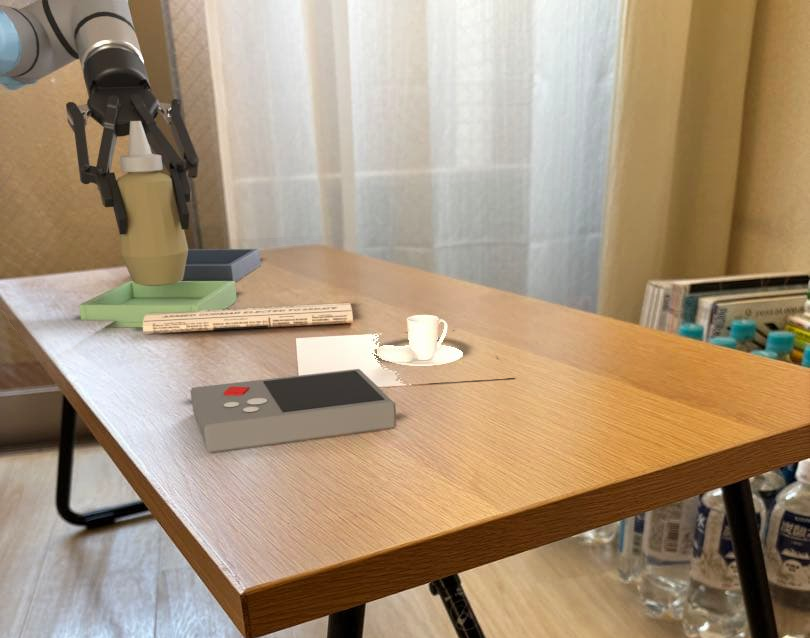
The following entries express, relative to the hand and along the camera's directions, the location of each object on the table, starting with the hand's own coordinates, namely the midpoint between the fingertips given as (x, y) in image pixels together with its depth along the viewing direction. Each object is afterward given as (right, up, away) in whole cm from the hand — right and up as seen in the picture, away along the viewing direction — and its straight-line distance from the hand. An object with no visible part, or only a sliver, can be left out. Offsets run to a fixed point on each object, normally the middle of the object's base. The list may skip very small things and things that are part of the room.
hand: (154, 224), depth 104 cm
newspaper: (+11, -12, +1) cm, 16 cm away
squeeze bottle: (-1, -5, +6) cm, 8 cm away
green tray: (-1, -8, +8) cm, 12 cm away
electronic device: (+20, -27, -30) cm, 45 cm away
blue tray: (-2, +3, +31) cm, 32 cm away
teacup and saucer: (+28, -18, -13) cm, 36 cm away
